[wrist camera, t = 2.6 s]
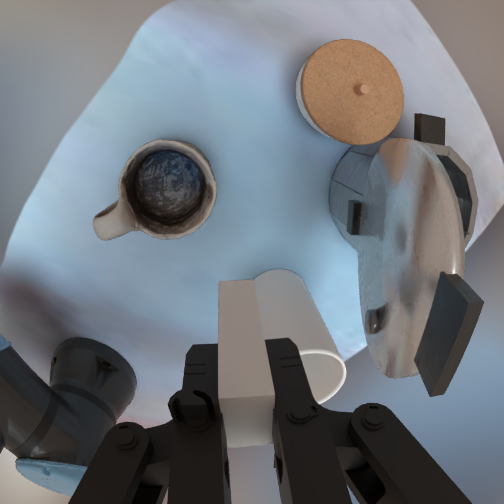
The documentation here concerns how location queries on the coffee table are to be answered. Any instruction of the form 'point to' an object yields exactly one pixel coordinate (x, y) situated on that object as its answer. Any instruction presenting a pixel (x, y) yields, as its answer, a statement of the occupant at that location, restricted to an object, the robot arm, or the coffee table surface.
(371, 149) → the pot
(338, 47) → the lidded jar
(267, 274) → the cup
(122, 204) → the mug
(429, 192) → the lid
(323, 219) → the coffee table surface
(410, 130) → the coffee table surface
